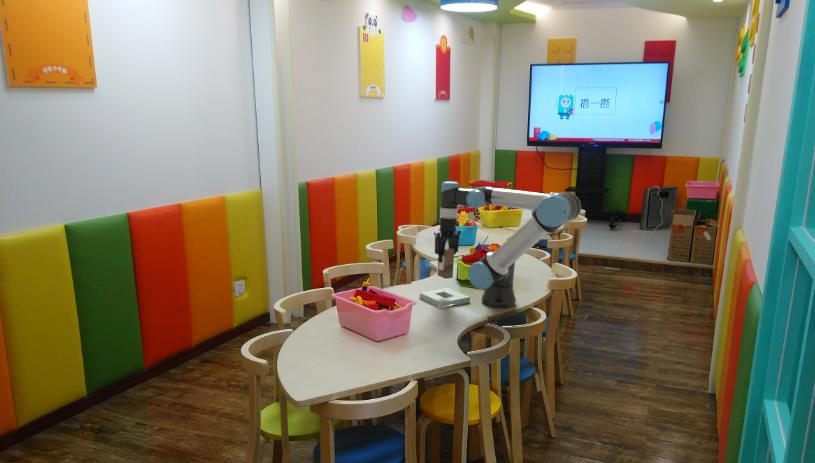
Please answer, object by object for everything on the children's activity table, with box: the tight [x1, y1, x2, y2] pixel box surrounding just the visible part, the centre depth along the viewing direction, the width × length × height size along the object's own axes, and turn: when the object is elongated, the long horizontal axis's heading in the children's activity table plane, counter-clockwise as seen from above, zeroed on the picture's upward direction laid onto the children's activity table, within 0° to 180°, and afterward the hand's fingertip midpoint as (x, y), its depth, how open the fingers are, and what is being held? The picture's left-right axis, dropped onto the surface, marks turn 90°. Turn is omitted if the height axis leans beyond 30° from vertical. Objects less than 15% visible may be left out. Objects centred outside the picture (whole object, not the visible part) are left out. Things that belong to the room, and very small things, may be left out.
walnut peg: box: [436, 245, 455, 280], centre depth 256 cm, size 6×4×13 cm, turn 35°
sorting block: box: [419, 287, 471, 308], centre depth 259 cm, size 16×16×2 cm
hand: (445, 268), depth 256 cm, fingers closed on walnut peg, 4 cm apart
